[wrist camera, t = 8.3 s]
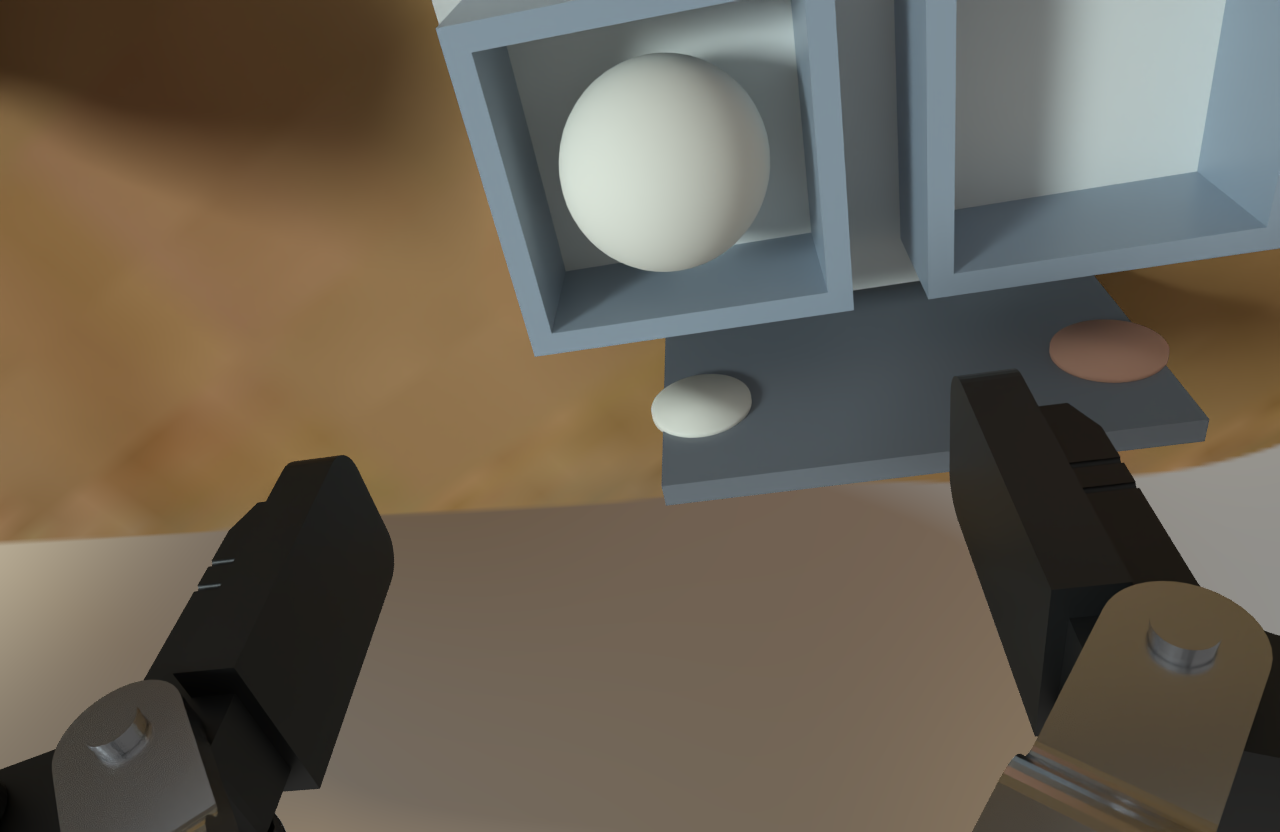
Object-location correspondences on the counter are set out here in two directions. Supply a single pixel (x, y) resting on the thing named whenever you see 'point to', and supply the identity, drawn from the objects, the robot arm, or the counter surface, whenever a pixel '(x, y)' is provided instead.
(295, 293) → the counter surface
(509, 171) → the rack
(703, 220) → the cream ball
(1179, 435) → the card
